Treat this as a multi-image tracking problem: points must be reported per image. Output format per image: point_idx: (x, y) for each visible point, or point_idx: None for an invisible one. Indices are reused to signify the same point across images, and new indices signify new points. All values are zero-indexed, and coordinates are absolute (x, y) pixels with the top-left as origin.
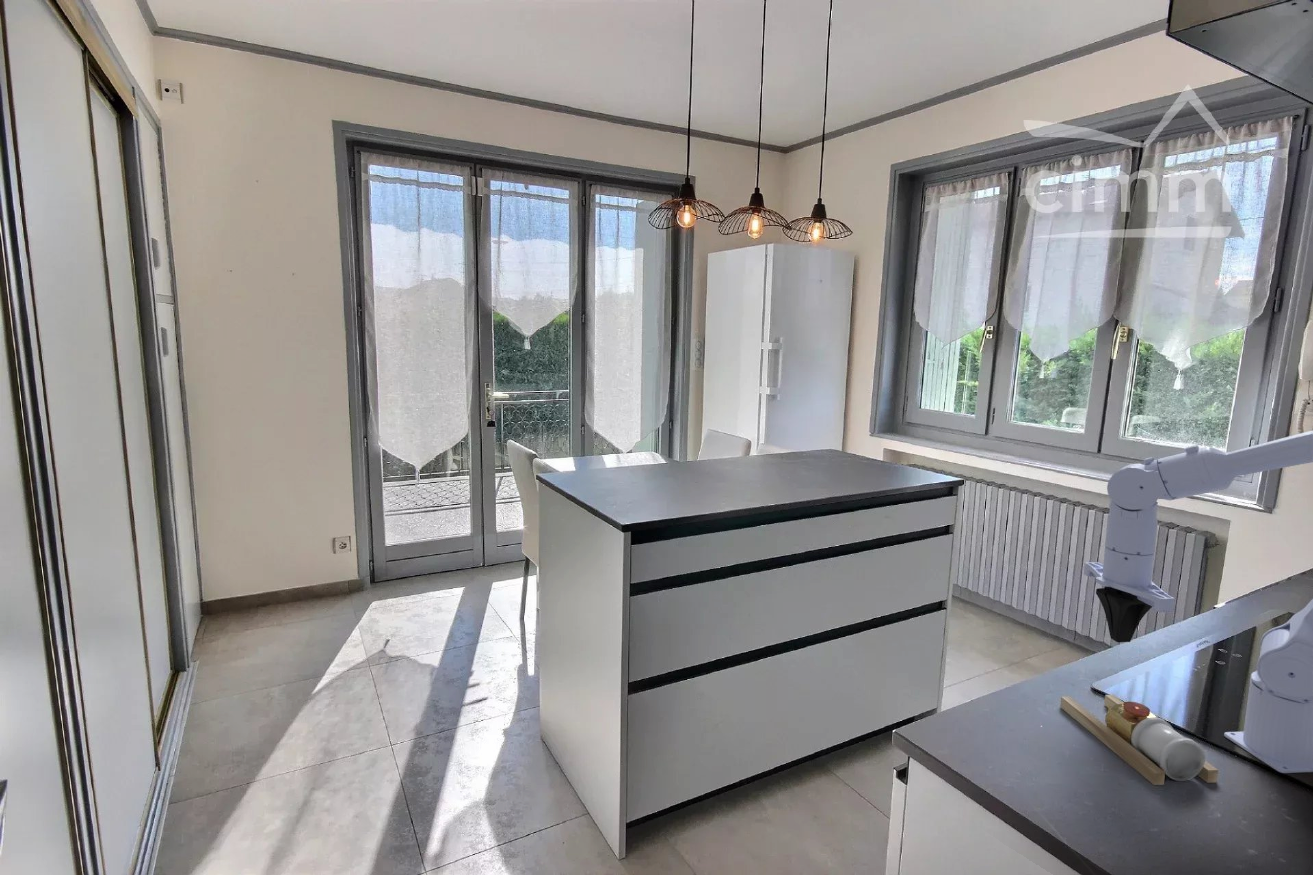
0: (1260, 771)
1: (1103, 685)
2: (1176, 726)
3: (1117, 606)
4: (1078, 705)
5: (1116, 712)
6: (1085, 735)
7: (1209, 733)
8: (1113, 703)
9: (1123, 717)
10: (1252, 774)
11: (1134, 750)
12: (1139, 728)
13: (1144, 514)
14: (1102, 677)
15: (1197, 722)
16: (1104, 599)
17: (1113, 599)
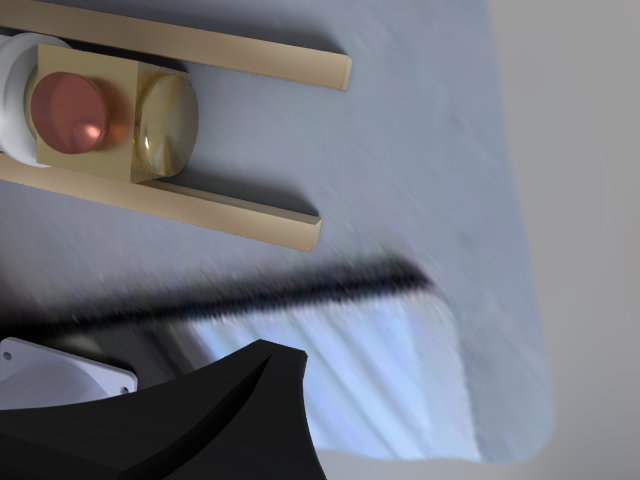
0: (23, 307)
1: (427, 331)
2: (195, 313)
3: (44, 416)
4: (281, 68)
5: (102, 55)
6: (206, 12)
7: (155, 357)
8: (278, 214)
9: (74, 52)
10: (15, 279)
11: (43, 23)
12: (9, 40)
13: None
14: (469, 375)
15: None
16: (227, 474)
17: (12, 443)
